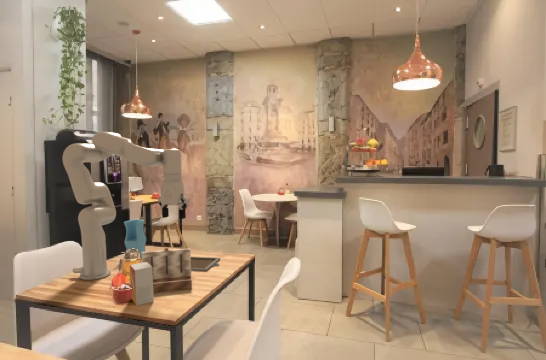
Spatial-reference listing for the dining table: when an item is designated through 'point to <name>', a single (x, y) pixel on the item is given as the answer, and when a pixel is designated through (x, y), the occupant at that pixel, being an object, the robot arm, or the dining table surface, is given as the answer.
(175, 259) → the display ledge
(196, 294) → the dining table surface
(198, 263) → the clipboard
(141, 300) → the small box
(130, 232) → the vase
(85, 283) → the dining table surface
